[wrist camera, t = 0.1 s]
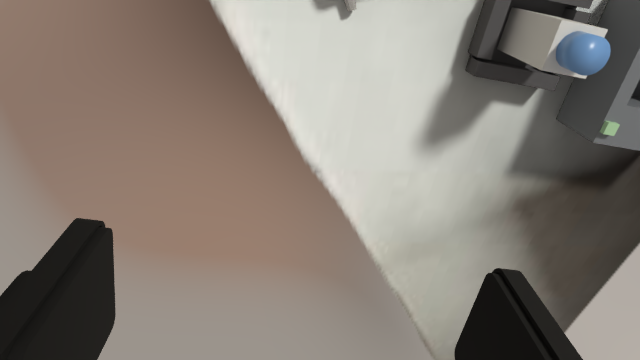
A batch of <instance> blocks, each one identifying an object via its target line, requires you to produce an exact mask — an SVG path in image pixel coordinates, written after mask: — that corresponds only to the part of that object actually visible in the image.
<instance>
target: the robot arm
mask: <svg viewBox="0 0 640 360" xmlns="http://www.w3.org/2000/svg"><path fill="white" fill-rule="evenodd" d="M113 260H114V259H113V233H112V229H111V228H105V224H104V222H103V221H98V220H90V219H81V218H77V219H75V220H74V221H73V222H72V223H71V224H70V225H69V227H68V228H67V229H66V230H65V231H64V233H63V234H62V235H61V236H60V238H59V239H58V240H57V241H56V242H55V243H54V245H53V246H52V247H51V248H50V250H49V251H48V252H47V253H46V254H45V255H44V257H43V258H42V259H41V260H40V261H39V263H38V264H37V265H36V266H35V267H34V269H33V270H32V271H24V272H22V273H21V274H20V275H19V276H17V277H16V279H15V280H14V281H13V282H12V283H11V284H10V286H9V287H8V288H7V289H6V290H5V291H4V293H3V294H2V295H1V296H0V360H97V359H98V357H99V355H100V353H101V351H102V349H103V347H104V345H105V343H106V341H107V338H108V337H109V335H110V332H111V330H112V328H113V325H114V320H115V289H114V261H113ZM455 360H583V359H582V358H581V357H580V355H579V354H578V352H577V351H576V349H575V348H574V346H573V345H572V344H571V342H570V341H569V339H568V338H567V337H566V335H565V334H564V332H563V331H562V329H561V328H560V327H559V325H558V324H557V322H556V321H555V319H554V318H553V317H552V315H551V314H550V312H549V311H548V310H547V308H546V307H545V305H544V304H543V302H542V301H541V300H540V298H539V297H538V295H537V294H536V292H535V291H534V290H533V288H532V287H531V285H530V284H529V283H528V281H527V280H526V278H525V277H524V275H523V274H522V273H521V272H520V271H517V270H509V269H500V268H497V269H495V270H494V271H493V272H492V273H488V274H487V275H486V277H485V279H484V281H483V283H482V286H481V288H480V291H479V293H478V295H477V298H476V300H475V302H474V305H473V307H472V309H471V312H470V314H469V316H468V319H467V321H466V323H465V326H464V328H463V331H462V333H461V335H460V338H459V340H458V342H457V345H456V347H455Z"/></svg>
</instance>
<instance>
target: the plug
mask: <svg viewBox="0 0 640 360" xmlns="http://www.w3.org/2000/svg"><path fill="white" fill-rule="evenodd" d="M607 31H608V29H604V28H600V27H596V26H592V25H588V24H584V23H580V22H576V21H572V20H568V19H564V18H560V17H556V16H552V15H547V14H543V13H538V12H533V11H528V10H523V9H518V8H514V7H512V8H511V11H510V14H509V17H508V20H507V22H506V25H505V28H504V31H503V34H502V37H501V39H500V42H499V45H498V48H497V49H498V50H500V51H502V52H504V53H506V54H508V55H510V56H512V57H515V58H517V59H519V60H521V61H523V62H525V63H527V64H529V65H531V66H533V67H535V68H537V69H539V70H542V71H547V72H552V73H557V74H563V75H568V76H573V77H578V78H584V79H586V77H587V75H592V74H594V73H596V72H598V71H599V70H601V69H602V68H603V67H604V66H605V64H606V63H607V61H608V59H609V57H610V52H611V49H610V44H609V42H608V41H607V40H606V39H605V38H604V37H605V35H606V33H607Z"/></svg>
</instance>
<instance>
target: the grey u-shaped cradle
mask: <svg viewBox="0 0 640 360" xmlns="http://www.w3.org/2000/svg"><path fill="white" fill-rule="evenodd" d="M592 1H593V0H485V1H484V4H483V7H482V10H481V13H480V16H479V19H478V22H477V26H476V29H475V32H474V35H473V38H472V41H471V44H470V47H469V50H468V52H469V53H470V54H471V55H470V58H469V61H468V64H467V67H466V71H467V72H469V73H470V74H472V75H473V76H476V77H482V78H487V79H493V80H498V81H503V82H509V83H514V84H520V85H525V86H530V87H536V88H541V89H547V90H552V91H554V90H555V88H556V86H557V83H558V81H559V79H560V77H559V76H557V75H555V74H553V73H551V72H547V71H542V70H539V69H537V68H535V67H533V66H531V65H529V64H527V63H525V62H523V61H521V60H519V59H517V58H515V57H512V56H510V55H508V54H506V53H504V52H502V51H500V50H498V49H497V48H498V45H499V42H500V39H501V37H502V34H503V31H504V28H505V25H506V22H507V20H508V17H509V14H510V11H511V8H512V7H514V8H518V9H523V10H528V11H533V12H538V13H543V14H547V15H552V16H556V17H560V18H564V19H568V20H572V21H576V22H580V23H584V24H587V22H588V20H589V17H590V15H591V14H590V13H586V12H581V11H576V8H577V7H582V8H587V9H589V8H590V6H591V4H592Z"/></svg>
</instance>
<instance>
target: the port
mask: <svg viewBox="0 0 640 360" xmlns="http://www.w3.org/2000/svg"><path fill="white" fill-rule="evenodd" d="M597 27H600V28H604V29H608V31H607V33H606V35H605V37H604V38H605V39H606V40H607V41H608V42H609V44H610V49H611V52H610V57H609V59H608V61H607V63H606V64H605V66H604V67H603V68H602V69H601V70H599V71H598V72H596V73H594V74H592V75H587V77H586V79H584V78H578V77H575V78H574V80H573V82H572V84H571V87H570V89H569V91H568V93H567V96H566V98H565V100H564V103H563V105H562V107H561V109H560V112H559V114H558V116H557V118H556V119H557V120H558V121H560V122H561V123H563V124H565V125H566V126H568V127H569V128H571V129H572V130H574V131H575V132H577V133H579V134H580V135H582V136H583V137H585V138H586V139H588V140H589V141H591V142H593V143H597V144H603V145H609V146H615V147H621V148H626V149H632V150H638V151H640V0H609V1H608V3H607V5H606V7H605V10H604V12H603V14H602V16H601V19H600V21H599V23H598V26H597Z"/></svg>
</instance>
